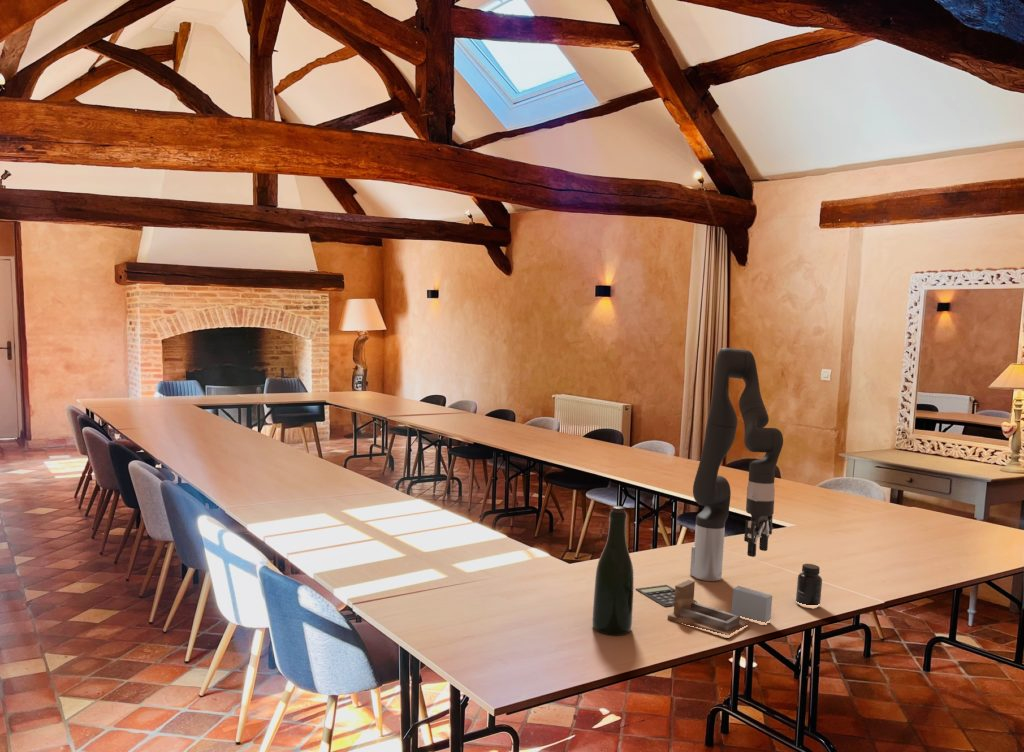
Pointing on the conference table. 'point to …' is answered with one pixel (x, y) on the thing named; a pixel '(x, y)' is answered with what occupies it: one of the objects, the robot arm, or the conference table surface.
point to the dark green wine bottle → (614, 580)
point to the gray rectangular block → (751, 604)
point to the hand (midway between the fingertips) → (757, 553)
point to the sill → (701, 612)
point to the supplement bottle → (809, 585)
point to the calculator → (660, 594)
